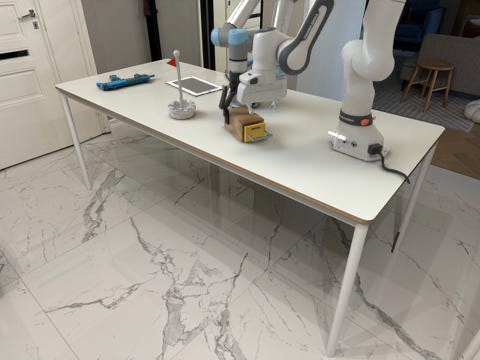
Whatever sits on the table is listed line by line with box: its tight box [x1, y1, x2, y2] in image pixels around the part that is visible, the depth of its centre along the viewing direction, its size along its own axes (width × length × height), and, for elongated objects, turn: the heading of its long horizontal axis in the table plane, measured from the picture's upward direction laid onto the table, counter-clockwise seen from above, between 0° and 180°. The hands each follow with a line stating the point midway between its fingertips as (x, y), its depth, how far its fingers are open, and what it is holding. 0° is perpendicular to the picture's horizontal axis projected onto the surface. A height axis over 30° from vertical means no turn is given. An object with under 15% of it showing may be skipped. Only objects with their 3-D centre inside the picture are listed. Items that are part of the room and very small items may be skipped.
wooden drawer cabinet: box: [223, 106, 265, 143], centre depth 147 cm, size 17×10×8 cm, turn 28°
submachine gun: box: [95, 73, 156, 91], centre depth 209 cm, size 34×4×25 cm
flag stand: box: [165, 49, 197, 120], centre depth 157 cm, size 13×13×30 cm
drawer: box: [244, 121, 274, 143], centre depth 142 cm, size 22×9×6 cm, turn 28°
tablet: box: [165, 75, 223, 97], centre depth 203 cm, size 32×20×1 cm, turn 41°
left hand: (238, 121), depth 150 cm, fingers closed on wooden drawer cabinet, 10 cm apart
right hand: (262, 111), depth 132 cm, fingers open, 8 cm apart
